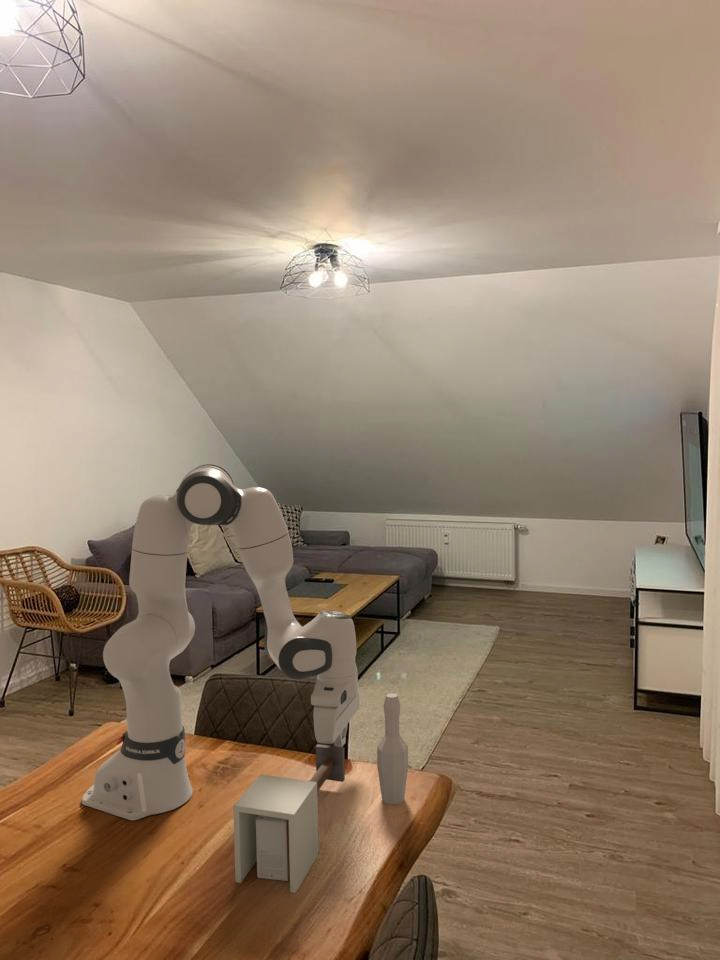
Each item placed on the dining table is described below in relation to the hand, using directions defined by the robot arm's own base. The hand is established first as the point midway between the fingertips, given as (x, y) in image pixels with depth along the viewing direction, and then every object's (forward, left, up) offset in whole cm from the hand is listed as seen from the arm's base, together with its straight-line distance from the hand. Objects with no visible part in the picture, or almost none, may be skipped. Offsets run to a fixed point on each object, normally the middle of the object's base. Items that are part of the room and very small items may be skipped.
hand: (340, 745), depth 154 cm
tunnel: (-1, -34, -7) cm, 34 cm away
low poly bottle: (+13, -6, -7) cm, 16 cm away
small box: (-1, -33, -7) cm, 34 cm away
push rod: (-1, -16, -5) cm, 17 cm away
